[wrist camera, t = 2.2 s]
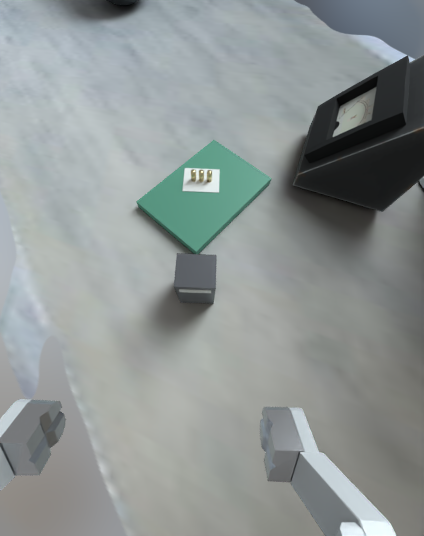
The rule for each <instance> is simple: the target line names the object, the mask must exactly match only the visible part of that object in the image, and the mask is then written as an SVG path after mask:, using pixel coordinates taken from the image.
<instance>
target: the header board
mask: <svg viewBox="0 0 424 536" xmlns="http://www.w3.org/2000/svg"><path fill="white" fill-rule="evenodd" d="M192 169H195V170H196V181H195V182H193V181H191V170H192ZM199 170H204V181H203V182H200V181H199ZM208 170H211V171H212V181H211V182H207V171H208ZM270 181H271V178H270V177H269V176H267V175H266V174H264V173H263V172H261V171H260V170H258V169H257V168H255V167H254V166H252V165H251V164H249V163H248V162H246V161H245V160H243V159H242V158H240V157H239V156H237V155H236V154H234V153H233V152H231V151H230V150H228V149H227V148H225V147H224V146H222V145H221V144H219V143H218V142H216V141H215V140H213V141H212V142H211V143H209V144H208V145H207V146H206V147H204V148H203V149H202V150H201V151H199V152H198V153H197V154H196V155H194V156H193V157H192V158H191V159H189V160H188V161H187V162H186V163H184V164H183V165H182V166H181V167H179V168H178V169H177V170H176V171H174V172H173V173H172V174H171V175H169V176H168V177H167V178H166V179H164V180H163V181H162V182H161V183H159V184H158V185H157V186H156V187H154V188H153V189H152V190H150V191H149V192H148V193H147V194H145V195H144V196H143V197H142V198H140V199H139V200H138V201H137V204H138V207H139V208H140V209H142V210H143V211H144V212H145V213H146V214H148V215H149V216H150V217H151V218H152V219H153V220H155V221H156V222H157V223H158V224H159V225H161V226H162V227H163V228H164V229H165V230H167V231H168V232H169V233H170V234H171V235H173V236H174V237H175V238H176V239H177V240H178V241H180V242H181V243H182V244H183V245H184V246H186V247H187V248H188V249H189V250H190V251H192V252H193V253H194V254H199V253H200V252H201V251H202V250H203V249H204V248H205V247H206V246H207V245H208V244H209V243H210V242H211V241H212V240H213V239H214V238H215V237H216V236H217V235H218V234H219V233H220V232H221V231H222V230H223V229H224V228H225V227H226V226H227V225H228V224H229V223H230V222H231V221H232V220H233V219H234V218H235V217H236V216H237V215H239V214H240V213H241V212H242V211H243V210H244V209H245V208H246V207H247V206H248V205H249V204H250V203H251V202H252V201H253V200H254V199H255V198H256V197H257V196H258V195H259V194H260V193H261V192H262V191H263V190H264V189H265V188H266V187H267V186H268V185H269V184H270Z"/></svg>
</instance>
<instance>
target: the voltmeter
mask: <svg viewBox="0 0 424 536" xmlns="http://www.w3.org/2000/svg"><path fill="white" fill-rule="evenodd" d="M423 177H424V55H423V56H421V57H419V58H418V59H416V60H414V61H412V62H410V63H409V58H408V56H406V57H404V58H402V59H400V60H399V61H397V62H395V63H393V64H391V65H390V66H388V67H386V68H384V69H382V70H380V71H379V72H377V73H375V74H373V75H371V76H370V77H368V78H366V79H364V80H363V81H361V82H359V83H357V84H356V85H354V86H352V87H350V88H348V89H347V90H345V91H343V92H341V93H340V94H338V95H336V96H335V97H333V98H331V99H330V100H328V101H326V102H325V103H323V104H321V105H320V106H318V108H317V111H316V114H315V116H314V118H313V121H312V123H311V125H310V128H309V131H308V135H307V138H306V141H305V145H304V148H303V151H302V155H301V158H300V162H299V165H298V168H297V172H296V175H295V179H294V182H293V185H294V186H298V187H300V188H302V189H308V190H311V191H314V192H318V193H321V194H325V195H328V196H331V197H335V198H338V199H341V200H345V201H348V202H351V203H355V204H358V205H362V206H364V207H365V208H372V209H375V210H378V211H382V212H383V211H384V210H385V209H386V208H388V207H389V206H390V205H391V204H392V203H393V202H395V201H396V200H397V199H398V198H399V197H401V196H402V195H403V194H404V193H405V192H406V191H408V190H409V189H410V188H411V187H412V186H413V185H415V184H416V183H417V182H418V181H419V180H420V179H422V178H423Z"/></svg>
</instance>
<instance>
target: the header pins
mask: <svg viewBox="0 0 424 536" xmlns="http://www.w3.org/2000/svg"><path fill="white" fill-rule="evenodd" d="M191 181H193V182H195V181H196V170H195V169H192V170H191ZM199 181H200V182H203V181H204V170H199ZM211 181H212V171H211V170H208V171H207V182H211Z"/></svg>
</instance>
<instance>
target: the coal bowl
mask: <svg viewBox="0 0 424 536" xmlns="http://www.w3.org/2000/svg"><path fill="white" fill-rule="evenodd" d="M107 1H109V2H111V3H113V4H117V5H130V4H133V3H135V2H137V1H138V0H107Z"/></svg>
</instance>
